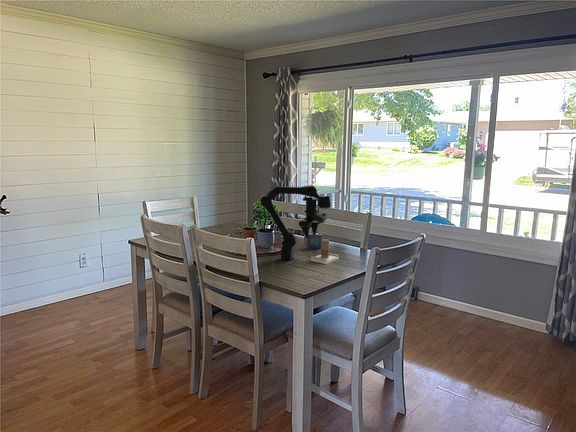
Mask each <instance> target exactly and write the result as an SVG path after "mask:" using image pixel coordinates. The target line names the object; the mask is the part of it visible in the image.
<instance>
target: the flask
mask: <svg viewBox="0 0 576 432" xmlns="http://www.w3.org/2000/svg"><path fill="white" fill-rule="evenodd" d="M322 239H323V234H322V233H316V234H315V235H313V232H312V233H311V232H309V236H308V238H306V240H307V245H306V246H307V249H308V250H310V249H311V250H321V240H322Z"/></svg>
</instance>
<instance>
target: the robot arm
mask: <svg viewBox="0 0 576 432" xmlns="http://www.w3.org/2000/svg"><path fill="white" fill-rule="evenodd" d="M279 194H285V195H286V194H287V195H288V194H289V195H301V196H304V197H302V199H301V200H302V201H304V202H305V210H304V213H305V217H304V219H301V220H299V221H298V227H299V228H301V231H302V232H303V234H304V236H305V239H307V238H308V236H309V234H310V229H311V231H312V233H313V235H315V234H317V231H318V230H317V229H318V227H319V225H320V224H324V223H325V222H326V220H327V218H328V216H327V213H325V212H322V213H319V211H318V210H317V207H318V209H331V200H330V199H331V198H330V196H329V195H326V196H324V195H323V196H320V195H319V194H318V190H317V188H316V186H314V185H312V184H311V185H310V184H309V185H303V186H281V185H275V186H274V187H273V188H272V189H271V190H269V191H268V192H266V194H262V195H261V197H260V205H262V206H263V208H264V209H265V210H266V211H267V212H268V214H269V215H270V217H271V218H272V220H273V221H274V223H275V225H276V226H277V229H279V231H280V233H281V235H282V238H283V241H281V242H280V245H281V249H280V257H279V258H278V260H280V261H284V262H289V261H292V260H295V258H294V257H293V247H295V245H296V243H297V241H296V239H297V238H296V235H294V233H293V231H292V230H289V229H288V228H287V226H286V225H285V223H284V221H283V220H282V218H281V217H280V215H279V214H278V212H277V210H276V209H275V206H274V204H273V200H274V199H275V198H276V197H277V196H278V195H279Z"/></svg>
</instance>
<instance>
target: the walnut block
mask: <svg viewBox="0 0 576 432" xmlns="http://www.w3.org/2000/svg"><path fill="white" fill-rule="evenodd" d="M320 250H321V251H320V254H321V258H329V253H330V239H329V238H322V240H321V249H320Z"/></svg>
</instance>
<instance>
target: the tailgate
mask: <svg viewBox="0 0 576 432" xmlns="http://www.w3.org/2000/svg"><path fill="white" fill-rule="evenodd" d="M339 258H340V255H339V254H336V253H331V252H329V258H321V253H320V254H318V255H314V256H310V258H309V259H310V262H313V263H314V262H315V263H320V264H324V265H327V264H330V263H333V262H335V261H338V260H340V259H339Z"/></svg>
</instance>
